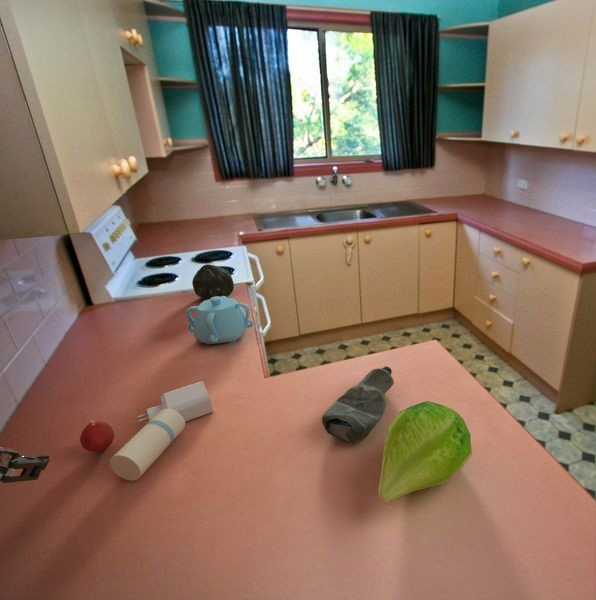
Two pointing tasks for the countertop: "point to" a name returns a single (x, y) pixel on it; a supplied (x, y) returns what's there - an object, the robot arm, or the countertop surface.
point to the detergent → (359, 407)
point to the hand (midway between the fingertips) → (16, 454)
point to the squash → (212, 282)
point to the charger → (184, 402)
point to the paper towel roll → (147, 445)
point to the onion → (96, 436)
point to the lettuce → (422, 449)
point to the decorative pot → (219, 320)
